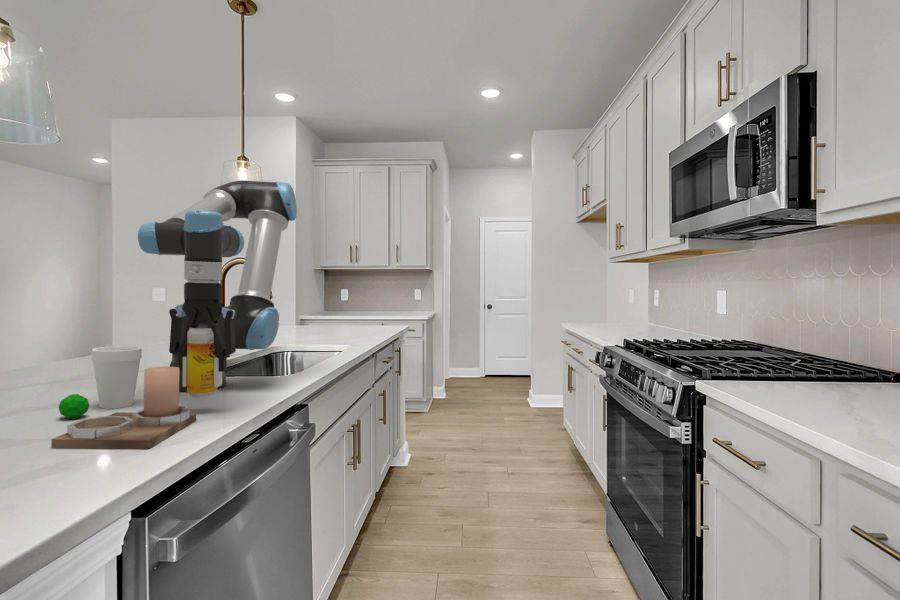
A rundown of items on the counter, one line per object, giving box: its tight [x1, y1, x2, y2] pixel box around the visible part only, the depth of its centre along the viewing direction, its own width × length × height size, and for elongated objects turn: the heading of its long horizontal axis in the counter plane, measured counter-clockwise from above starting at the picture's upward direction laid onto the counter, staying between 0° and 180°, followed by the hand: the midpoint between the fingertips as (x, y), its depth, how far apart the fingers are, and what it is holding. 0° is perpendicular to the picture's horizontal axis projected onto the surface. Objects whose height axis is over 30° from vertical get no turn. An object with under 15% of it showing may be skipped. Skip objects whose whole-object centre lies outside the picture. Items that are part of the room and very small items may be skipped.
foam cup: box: [91, 345, 143, 409], centre depth 113 cm, size 10×9×13 cm
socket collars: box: [66, 405, 191, 439], centre depth 94 cm, size 17×16×2 cm
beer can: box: [186, 326, 219, 398], centre depth 110 cm, size 6×6×15 cm
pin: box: [143, 366, 180, 417], centre depth 98 cm, size 6×6×10 cm
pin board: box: [50, 411, 197, 450], centre depth 94 cm, size 18×16×2 cm
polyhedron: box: [58, 393, 90, 420], centre depth 102 cm, size 5×5×5 cm
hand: (202, 385), depth 110 cm, fingers closed on beer can, 6 cm apart
